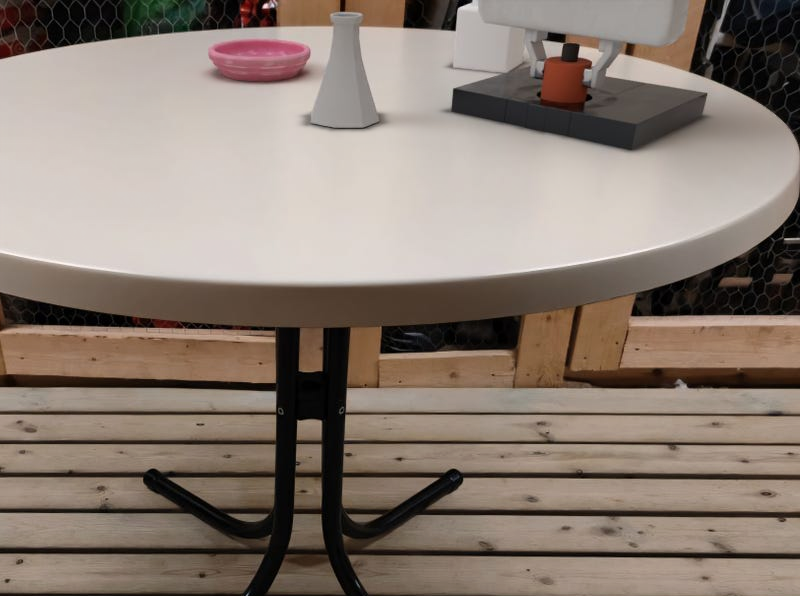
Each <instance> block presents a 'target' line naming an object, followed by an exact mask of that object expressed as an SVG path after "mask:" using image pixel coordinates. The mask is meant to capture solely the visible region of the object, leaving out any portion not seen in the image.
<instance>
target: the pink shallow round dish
mask: <svg viewBox="0 0 800 596" xmlns="http://www.w3.org/2000/svg"><path fill="white" fill-rule="evenodd" d="M207 50H208V51H207V55H208V57H209V58H208V59H210V60H211V62H212V64H213V65H214V66H215V67H216V68H218V69H219V71H220V73H221V75H223V76H224V77H225V78H227V79H228V78H229V79H232V80H235V81H242V82H243V81H244V82H276V81H283V80H287V79H291V78H294V77H296V76H298V75H299V73H300V71H301V69H302V68H304V67H305V66H306V65H307V62H308V61H309V59H310V58H311V48H310V47H309V46H308V45H307V44H304V43H300V42H297V41H293V40H285V39H277V38H276V39H275V38H242V39H233V40H225V41H220V42H217V43H214V44H212V45H211V46H209V47H208V49H207Z"/></svg>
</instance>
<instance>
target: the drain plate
mask: <svg viewBox="0 0 800 596" xmlns="http://www.w3.org/2000/svg"><path fill="white" fill-rule="evenodd" d="M530 72H531V65H528V66H525V67H522V68H518V69H515V70H511V71H509V72H507V73H500V74H498V75H494V76H491V77H488V78H484V79H480V80H477V81H474V82H470V83H467V84H463V85H460V86H456V87H453V88H452V96H451V98H452V99H451V107H450V109H451V110H450V112H452V113H456V114H460V115H464V116H465V115H466V116H469V117H474V118H479V119H484V120H489V121H493V122H498V123H502V124H506V125H511V126H517V127H520V128H524V129H529V130H532V131H537V132H542V133H549V134H553V135H558V136H562V137H567V138H572V139H576V140H580V141H585V142H591V143H594V144H599V145H603V146H609V147H613V148H618V149H623V150H627V151H633V150H636V149H638V148H639V147H641V146H644V145H646V144H648V143H650V142H652V141H654V140H656V139H659V138H660V137H663V136H665V135H667V134H668V133H669V134H670V133H671V132H673V131H675V130H677V129H679V128H682V127H683V126H686V125H687V124H690V123H692V122H694V121H696V120H698V119H700V118H703V114H704V110H705V106H706V102H707V98H708V92H704V91H699V90H692V89H686V88H679V87H673V86H668V85H662V84H657V83H656V84H655V83H649V82H642V81H637V80H630V79H625V78H619V77H614V76H613V77H612V76H606V75H605V81H604V85H603V87H602V88H600V89H597V90H596V89H590V88H588V90H587V95H586V101H585V102H579V103H564V102H554V101H548V100H544V99H542V98H540V97H541V90H542V83H543V80H540V79H534V78H531V77H530Z"/></svg>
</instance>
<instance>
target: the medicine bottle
mask: <svg viewBox="0 0 800 596" xmlns="http://www.w3.org/2000/svg"><path fill="white" fill-rule="evenodd" d="M524 36H525V29H524V28H517V27H509V26H502V25H495V24H488V23H484V22H483V20H482V18H481V16H480V14H479V12H478V0H472V1H471V2H470V3H467V4H464V5H463V6H460V7H458V8H457V12H456V23H455V36H454V48H453V60H452V61H453V62H452V67H453V69H462V70H470V71H471V70H472V71H480V72H491V73H500V74H504V73H507V72H511V71H513V69H516V68H517V67H518V66H520V65H521V64H523V62H524V55H525V48H526V45H525V42H524Z"/></svg>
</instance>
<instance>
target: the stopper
mask: <svg viewBox="0 0 800 596" xmlns="http://www.w3.org/2000/svg"><path fill="white" fill-rule="evenodd" d="M580 49H581V44H579V43H576V42H565V43H563V44H562V49H561V54H560V56H559V55H558V56H550V57H547V59H546V63H545V70H544V76H543V83H542V90H541V97H540V98H542V99H544V100H548V101H554V102H564V103H579V102H585V101H586V95H587V90H588V88H585V87H582V81H583V79H584V77H583V73H584V69H585V68H590V67H592V66H593V61H592V60H590V59H588V58H584V57H579V55H580Z"/></svg>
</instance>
